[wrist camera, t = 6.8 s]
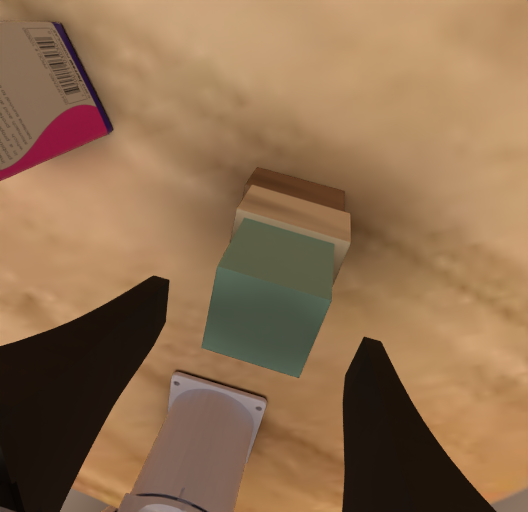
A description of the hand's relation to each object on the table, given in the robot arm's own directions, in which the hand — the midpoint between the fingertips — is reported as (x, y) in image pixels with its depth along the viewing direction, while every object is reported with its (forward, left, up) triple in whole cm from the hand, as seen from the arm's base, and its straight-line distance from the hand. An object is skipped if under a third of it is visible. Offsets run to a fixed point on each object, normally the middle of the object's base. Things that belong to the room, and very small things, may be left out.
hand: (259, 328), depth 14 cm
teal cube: (0, 0, -4) cm, 4 cm away
